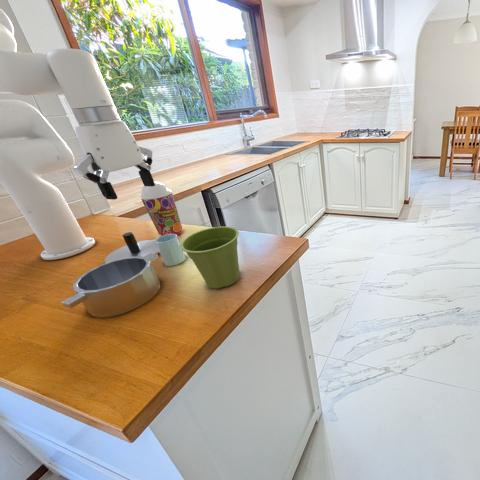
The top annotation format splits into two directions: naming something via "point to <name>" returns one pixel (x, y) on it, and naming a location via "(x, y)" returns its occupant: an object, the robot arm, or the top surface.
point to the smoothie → (161, 208)
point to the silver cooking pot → (116, 286)
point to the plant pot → (214, 255)
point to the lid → (133, 248)
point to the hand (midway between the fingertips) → (132, 192)
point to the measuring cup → (170, 249)
